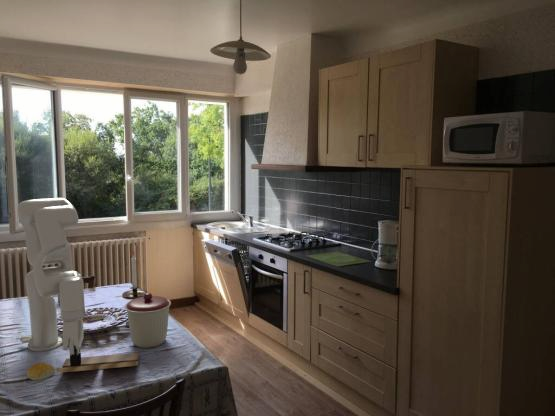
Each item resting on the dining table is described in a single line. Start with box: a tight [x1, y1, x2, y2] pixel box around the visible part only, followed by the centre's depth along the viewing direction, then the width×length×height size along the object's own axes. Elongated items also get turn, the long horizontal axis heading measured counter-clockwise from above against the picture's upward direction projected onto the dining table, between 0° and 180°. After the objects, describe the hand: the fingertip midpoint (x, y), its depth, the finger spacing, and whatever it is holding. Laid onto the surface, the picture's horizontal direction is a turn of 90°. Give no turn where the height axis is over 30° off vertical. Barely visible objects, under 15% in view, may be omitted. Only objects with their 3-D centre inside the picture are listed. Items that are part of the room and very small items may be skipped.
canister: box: [124, 292, 172, 349], centre depth 190 cm, size 18×18×21 cm
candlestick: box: [121, 248, 148, 328], centre depth 209 cm, size 11×11×35 cm
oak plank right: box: [98, 361, 139, 370], centre depth 166 cm, size 12×10×2 cm
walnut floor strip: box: [61, 352, 140, 368], centre depth 173 cm, size 26×6×2 cm, turn 102°
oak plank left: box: [56, 365, 100, 374], centre depth 163 cm, size 12×10×2 cm
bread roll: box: [26, 362, 55, 381], centre depth 164 cm, size 8×9×4 cm
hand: (75, 365), depth 159 cm, fingers closed
